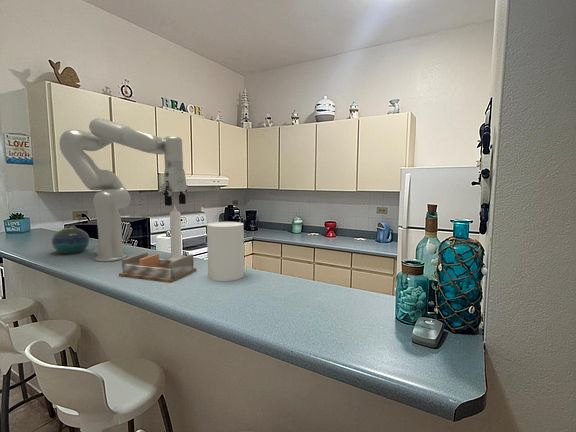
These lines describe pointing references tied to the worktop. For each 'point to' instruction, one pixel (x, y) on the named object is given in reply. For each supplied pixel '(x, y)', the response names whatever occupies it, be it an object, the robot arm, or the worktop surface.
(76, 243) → the vase
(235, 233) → the canister
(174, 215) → the candle
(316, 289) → the worktop surface
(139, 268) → the grey brown open box
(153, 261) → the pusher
